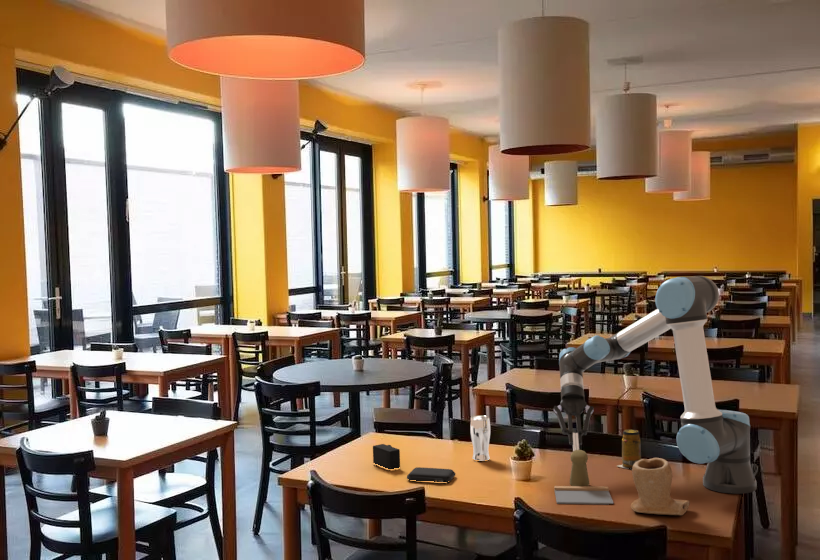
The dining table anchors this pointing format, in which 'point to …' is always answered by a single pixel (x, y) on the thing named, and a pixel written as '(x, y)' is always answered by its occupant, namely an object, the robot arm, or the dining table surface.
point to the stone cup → (655, 488)
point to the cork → (579, 469)
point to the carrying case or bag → (431, 474)
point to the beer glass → (480, 437)
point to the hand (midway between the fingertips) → (576, 453)
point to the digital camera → (386, 456)
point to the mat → (582, 495)
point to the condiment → (630, 448)
